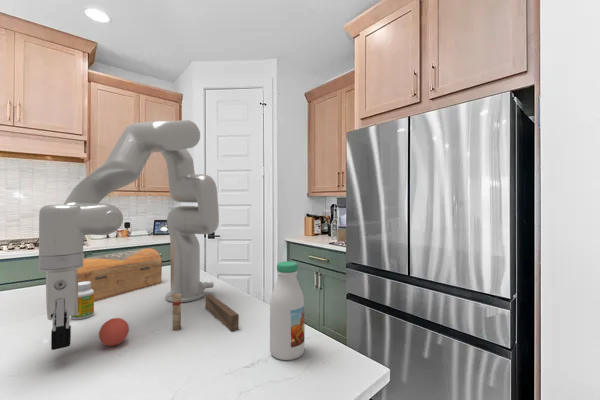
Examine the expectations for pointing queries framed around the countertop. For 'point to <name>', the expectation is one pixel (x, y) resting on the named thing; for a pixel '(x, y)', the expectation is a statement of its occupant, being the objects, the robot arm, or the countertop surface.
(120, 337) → the ball
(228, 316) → the wall
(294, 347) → the milk bottle
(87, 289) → the supplement bottle
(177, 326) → the pin
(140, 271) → the wooden box
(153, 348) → the countertop surface
